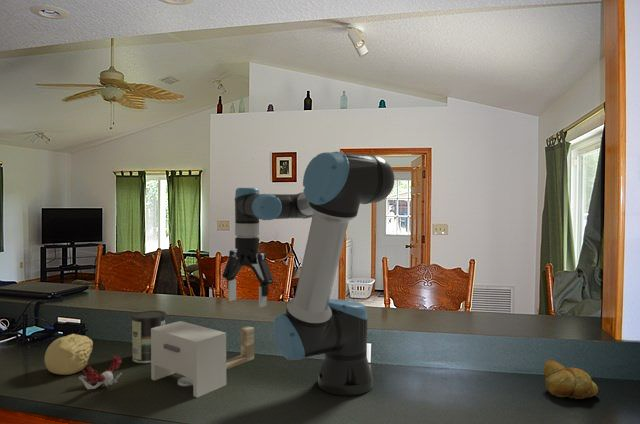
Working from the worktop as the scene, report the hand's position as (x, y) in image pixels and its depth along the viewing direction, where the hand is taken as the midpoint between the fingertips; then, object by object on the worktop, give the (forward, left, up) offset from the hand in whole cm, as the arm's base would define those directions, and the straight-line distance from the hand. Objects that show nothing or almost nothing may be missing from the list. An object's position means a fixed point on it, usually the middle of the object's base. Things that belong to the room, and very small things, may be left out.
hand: (247, 303), depth 149 cm
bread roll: (-87, -32, -18) cm, 95 cm away
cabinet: (0, +23, -18) cm, 29 cm away
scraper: (0, +8, -18) cm, 19 cm away
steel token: (0, +24, -18) cm, 30 cm away
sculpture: (+35, +39, -18) cm, 55 cm away
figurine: (+17, +39, -18) cm, 46 cm away
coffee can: (+26, +18, -18) cm, 36 cm away
